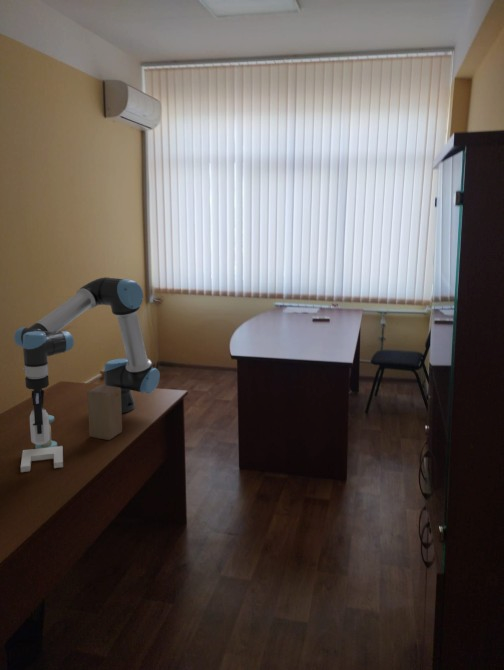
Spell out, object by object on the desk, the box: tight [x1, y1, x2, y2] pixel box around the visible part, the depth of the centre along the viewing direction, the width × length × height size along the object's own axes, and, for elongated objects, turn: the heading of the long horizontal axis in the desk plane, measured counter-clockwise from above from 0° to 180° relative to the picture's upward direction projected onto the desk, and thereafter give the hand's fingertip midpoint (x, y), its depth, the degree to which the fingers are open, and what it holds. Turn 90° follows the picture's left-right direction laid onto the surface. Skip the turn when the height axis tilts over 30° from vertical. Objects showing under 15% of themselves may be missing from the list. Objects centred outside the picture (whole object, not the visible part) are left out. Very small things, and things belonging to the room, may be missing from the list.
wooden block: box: [87, 384, 123, 441], centre depth 220 cm, size 10×10×20 cm
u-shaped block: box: [20, 445, 64, 473], centre depth 198 cm, size 14×14×2 cm
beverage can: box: [29, 408, 50, 445], centre depth 192 cm, size 6×6×12 cm
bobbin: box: [34, 414, 58, 449], centre depth 208 cm, size 8×8×12 cm
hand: (40, 437), depth 193 cm, fingers closed on beverage can, 6 cm apart
